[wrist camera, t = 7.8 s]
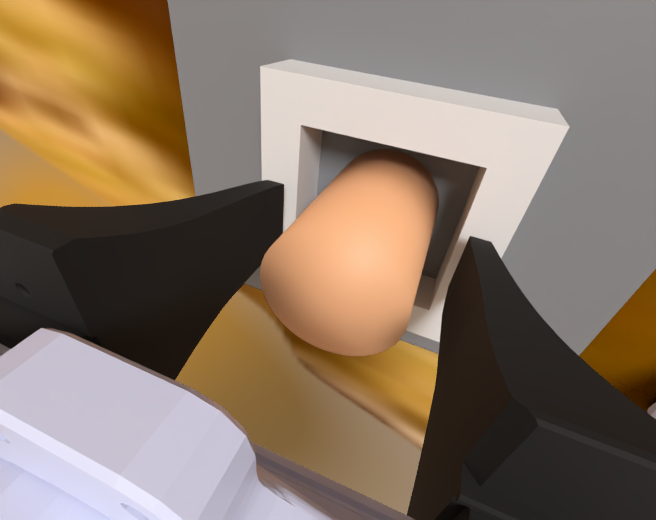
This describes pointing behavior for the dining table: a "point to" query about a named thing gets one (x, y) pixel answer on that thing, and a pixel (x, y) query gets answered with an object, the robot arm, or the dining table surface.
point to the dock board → (447, 129)
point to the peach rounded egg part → (355, 256)
